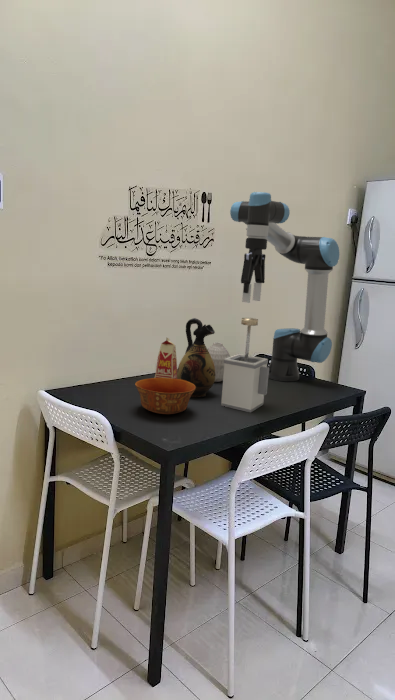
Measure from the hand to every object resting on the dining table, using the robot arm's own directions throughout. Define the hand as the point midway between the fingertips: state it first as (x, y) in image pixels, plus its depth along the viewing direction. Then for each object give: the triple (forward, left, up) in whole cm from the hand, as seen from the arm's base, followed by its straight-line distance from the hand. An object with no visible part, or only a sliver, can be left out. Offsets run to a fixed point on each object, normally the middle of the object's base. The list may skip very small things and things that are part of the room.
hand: (251, 301), depth 188 cm
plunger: (0, 0, -28) cm, 28 cm away
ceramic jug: (-1, -22, -40) cm, 45 cm away
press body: (0, +1, -39) cm, 39 cm away
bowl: (+25, -19, -40) cm, 51 cm away
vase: (-26, -25, -40) cm, 54 cm away
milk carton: (-7, -39, -40) cm, 56 cm away
